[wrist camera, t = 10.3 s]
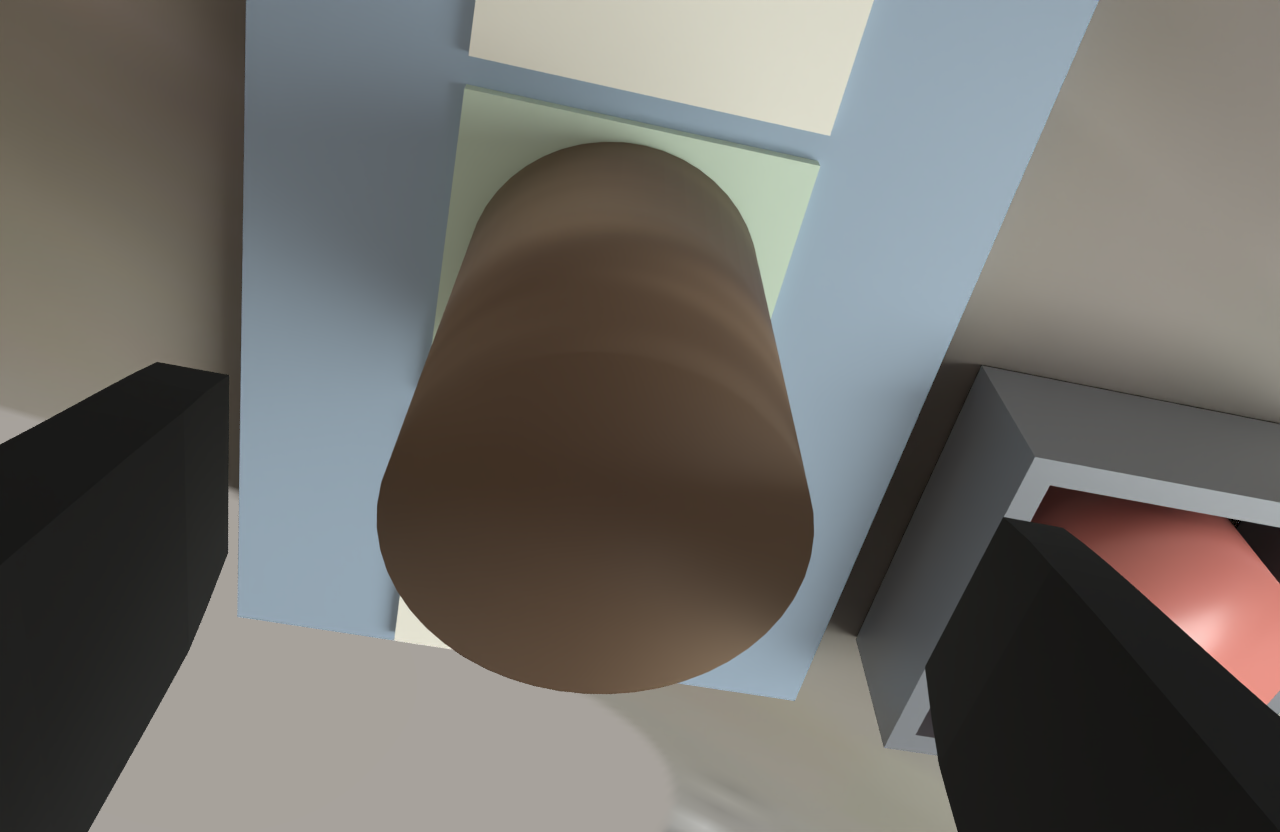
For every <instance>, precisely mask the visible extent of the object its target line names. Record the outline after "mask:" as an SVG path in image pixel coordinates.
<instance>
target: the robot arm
mask: <svg viewBox="0 0 1280 832" xmlns="http://www.w3.org/2000/svg"><path fill="white" fill-rule="evenodd" d="M228 442H229V375H225V374H220V373H214V372H209V371H203V370H198V369H192V368H187V367H181V366H176V365H170V364H165V363H159V362H156V363H154V364H152V365H150V366H148V367H146V368H144V369H141V370H139V371H137V372H135V373H133V374H131V375H129V376H128V377H126V378H124V379H122V380H120V381H118V382H116V383H114V384H112V385H111V386H109V387H107V388H105V389H103V390H101V391H99V392H98V393H96V394H94V395H92V396H90V397H88V398H86V399H85V400H83V401H81V402H79V403H77V404H75V405H74V406H72V407H70V408H68V409H66V410H64V411H62V412H61V413H59V414H57V415H55V416H53V417H51V418H50V419H48V420H46V421H44V422H42V423H40V424H38V425H36V426H35V427H33V428H31V429H29V430H27V431H25V432H23V433H21V434H19V435H18V436H16V437H14V438H12V439H10V440H8V441H6V442H4V443H2V444H0V832H88V831H89V829H90V827H91V825H92V823H93V822H94V820H95V818H96V816H97V815H98V813H99V811H100V809H101V807H102V806H103V804H104V802H105V800H106V799H107V797H108V795H109V793H110V791H111V790H112V788H113V786H114V784H115V783H116V781H117V779H118V777H119V776H120V773H121V772H122V770H123V768H124V767H125V765H126V763H127V761H128V760H129V758H130V756H131V754H132V753H133V751H134V749H135V747H136V745H137V744H138V742H139V740H140V738H141V737H142V735H143V733H144V731H145V729H146V728H147V726H148V724H149V722H150V720H151V719H152V717H153V715H154V713H155V711H156V710H157V708H158V706H159V704H160V702H161V701H162V699H163V697H164V695H165V693H166V692H167V690H168V688H169V686H170V684H171V683H172V680H173V679H174V677H175V675H176V673H177V672H178V670H179V668H180V666H181V664H182V662H183V661H184V659H185V657H186V655H187V653H188V651H189V649H190V647H191V644H192V642H193V640H194V637H195V635H196V632H197V630H198V628H199V625H200V623H201V620H202V618H203V615H204V613H205V611H206V608H207V606H208V603H209V601H210V598H211V595H212V593H213V590H214V588H215V585H216V582H217V580H218V577H219V575H220V572H221V570H222V567H223V564H224V562H225V559H226V557H227V554H228ZM925 672H926V680H927V688H928V696H929V703H930V711H931V719H932V725H933V731H934V737H935V743H936V749H937V755H938V761H939V766H940V770H941V774H942V777H943V781H944V785H945V788H946V792H947V796H948V799H949V803H950V806H951V810H952V813H953V817H954V820H955V824H956V827H957V831H958V832H1280V716H1279V715H1278V714H1276V713H1275V712H1274V711H1273V710H1272V709H1271V708H1269V707H1268V706H1267V705H1266V704H1265V703H1264V702H1263V701H1261V700H1260V699H1259V698H1258V697H1257V696H1256V695H1255V694H1254V693H1252V692H1251V691H1250V690H1249V689H1248V688H1247V687H1246V686H1244V685H1243V684H1242V683H1241V682H1240V681H1239V680H1238V679H1237V678H1235V677H1234V676H1233V675H1232V674H1231V673H1230V672H1229V671H1228V670H1227V669H1225V668H1224V667H1223V666H1222V665H1221V664H1220V663H1219V662H1218V661H1216V660H1215V659H1214V658H1213V657H1212V656H1211V655H1210V654H1209V653H1208V652H1206V651H1205V650H1204V649H1203V648H1202V647H1201V646H1200V645H1199V644H1198V643H1196V642H1195V641H1194V640H1193V639H1192V638H1191V637H1190V636H1189V635H1188V634H1187V633H1185V632H1184V631H1183V630H1182V629H1181V628H1180V627H1179V626H1178V625H1177V624H1175V623H1174V622H1173V621H1172V620H1171V619H1170V618H1169V617H1168V616H1167V615H1165V614H1164V613H1163V612H1162V611H1161V610H1160V609H1159V608H1158V607H1157V606H1156V605H1154V604H1153V603H1152V602H1151V601H1150V600H1149V599H1148V598H1147V597H1146V596H1144V595H1143V594H1142V593H1141V592H1140V591H1139V590H1138V589H1137V588H1136V587H1134V586H1133V585H1132V584H1131V583H1130V582H1129V581H1128V580H1126V579H1125V578H1124V577H1123V576H1122V575H1121V574H1120V573H1118V572H1117V571H1116V570H1115V569H1114V568H1113V567H1112V566H1110V565H1109V564H1108V563H1107V562H1106V561H1105V560H1103V559H1102V558H1101V557H1100V556H1099V555H1097V554H1096V553H1095V552H1094V551H1093V550H1091V549H1090V548H1089V547H1088V546H1086V545H1085V544H1084V543H1083V542H1081V541H1080V540H1079V539H1077V538H1076V537H1075V536H1073V535H1072V534H1071V533H1069V532H1068V531H1067V530H1065V529H1064V528H1062V527H1056V526H1051V525H1045V524H1040V523H1034V522H1029V521H1023V520H1018V519H1012V518H1007V517H1003V518H1002V520H1001V522H1000V524H999V526H998V528H997V530H996V532H995V533H994V535H993V537H992V539H991V541H990V543H989V545H988V547H987V549H986V551H985V553H984V555H983V556H982V558H981V560H980V562H979V564H978V566H977V568H976V570H975V572H974V574H973V576H972V577H971V579H970V581H969V583H968V585H967V587H966V589H965V591H964V593H963V595H962V597H961V599H960V600H959V602H958V604H957V606H956V608H955V610H954V612H953V614H952V616H951V618H950V620H949V622H948V623H947V625H946V627H945V629H944V631H943V633H942V635H941V637H940V639H939V641H938V643H937V645H936V646H935V648H934V650H933V652H932V654H931V656H930V658H929V660H928V662H927V664H926V666H925Z"/></svg>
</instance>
